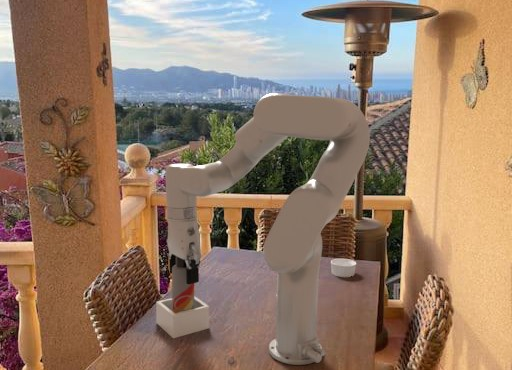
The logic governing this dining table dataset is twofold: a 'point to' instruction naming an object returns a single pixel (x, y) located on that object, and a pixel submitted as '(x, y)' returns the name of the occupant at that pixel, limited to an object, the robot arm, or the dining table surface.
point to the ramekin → (343, 267)
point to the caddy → (182, 318)
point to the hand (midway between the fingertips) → (183, 277)
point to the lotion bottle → (181, 288)
